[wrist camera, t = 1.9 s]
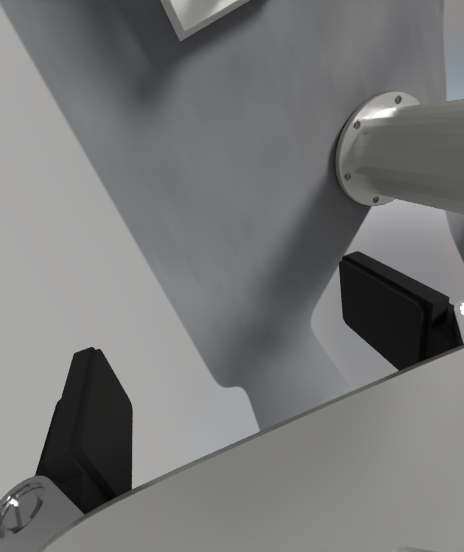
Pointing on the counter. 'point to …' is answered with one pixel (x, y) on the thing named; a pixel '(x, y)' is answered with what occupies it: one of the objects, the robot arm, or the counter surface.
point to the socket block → (196, 13)
